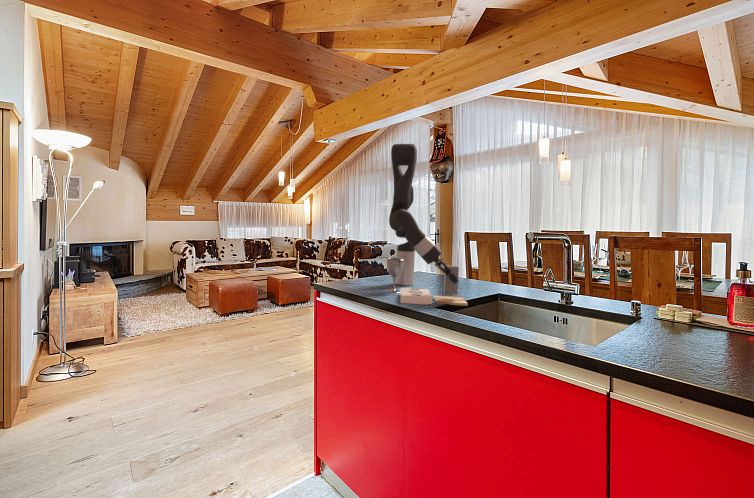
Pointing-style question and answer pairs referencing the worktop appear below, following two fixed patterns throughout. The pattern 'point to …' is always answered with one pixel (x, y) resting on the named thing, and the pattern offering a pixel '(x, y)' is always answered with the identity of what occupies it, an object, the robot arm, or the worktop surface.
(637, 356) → the worktop surface
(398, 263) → the wine glass
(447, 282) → the grey rectangular block
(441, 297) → the rest pad
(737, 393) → the worktop surface
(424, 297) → the pinkish tan rectangular slab
